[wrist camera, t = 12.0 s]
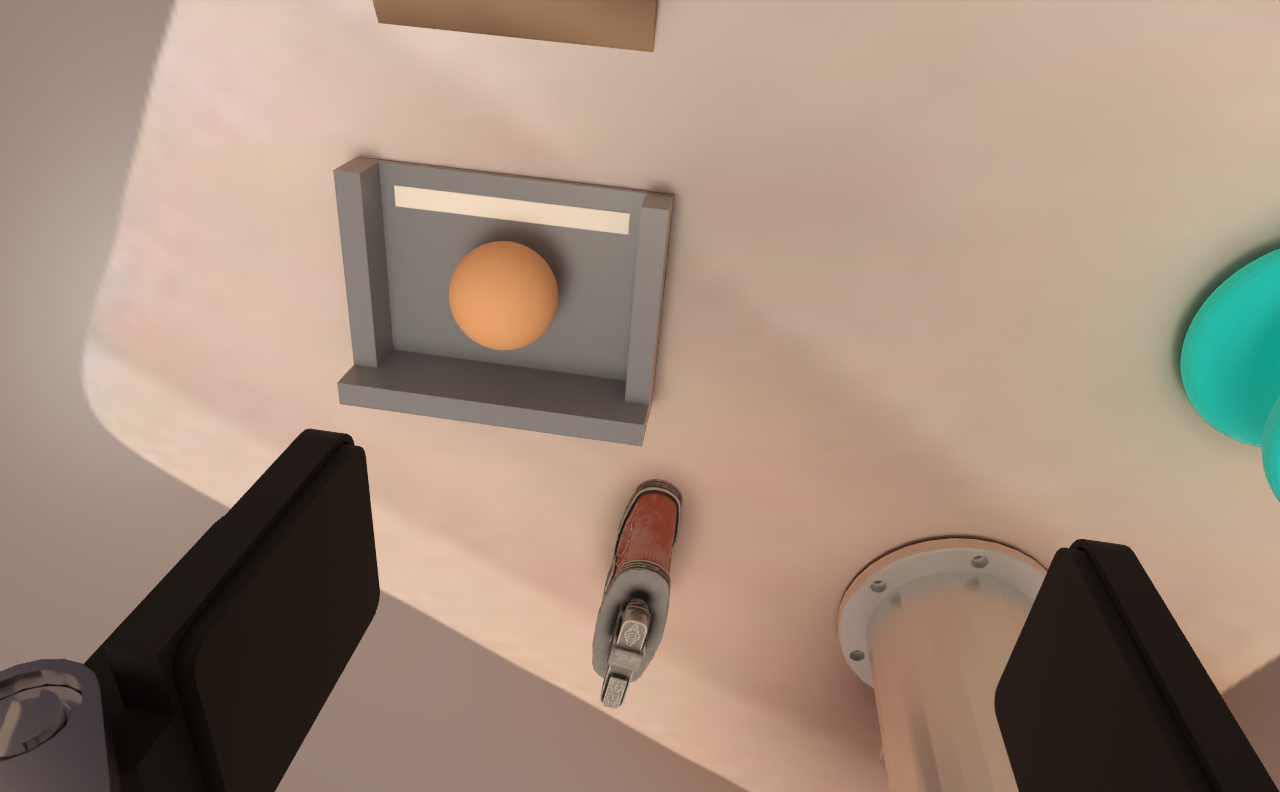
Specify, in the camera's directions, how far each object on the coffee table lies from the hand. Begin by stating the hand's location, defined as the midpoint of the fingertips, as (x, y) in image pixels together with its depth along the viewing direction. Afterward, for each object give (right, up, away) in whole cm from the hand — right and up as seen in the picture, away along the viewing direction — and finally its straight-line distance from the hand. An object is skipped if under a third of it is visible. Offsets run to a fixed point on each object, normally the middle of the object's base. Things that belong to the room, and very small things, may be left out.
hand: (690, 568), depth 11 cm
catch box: (-7, +8, +29) cm, 31 cm away
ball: (-7, +9, +27) cm, 29 cm away
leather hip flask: (0, -6, +36) cm, 37 cm away
